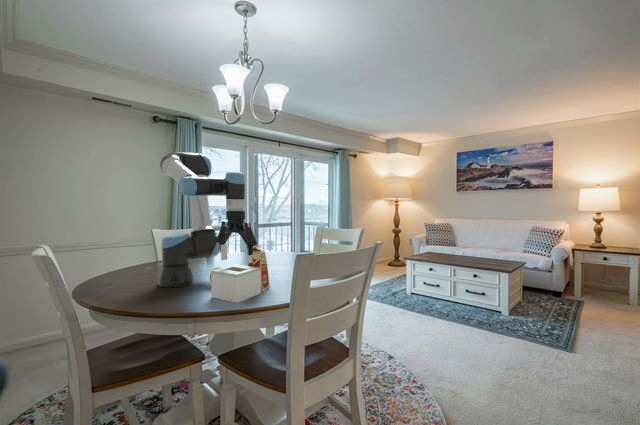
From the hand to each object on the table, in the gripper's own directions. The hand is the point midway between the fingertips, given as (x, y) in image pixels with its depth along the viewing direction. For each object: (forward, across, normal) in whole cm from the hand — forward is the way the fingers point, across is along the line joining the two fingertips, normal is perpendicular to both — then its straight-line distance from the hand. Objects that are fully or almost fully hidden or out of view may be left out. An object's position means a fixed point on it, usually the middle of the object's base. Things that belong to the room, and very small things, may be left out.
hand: (236, 261), depth 138 cm
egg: (+14, -18, +7) cm, 24 cm away
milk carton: (+14, 0, +13) cm, 19 cm away
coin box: (+14, 0, 0) cm, 14 cm away
